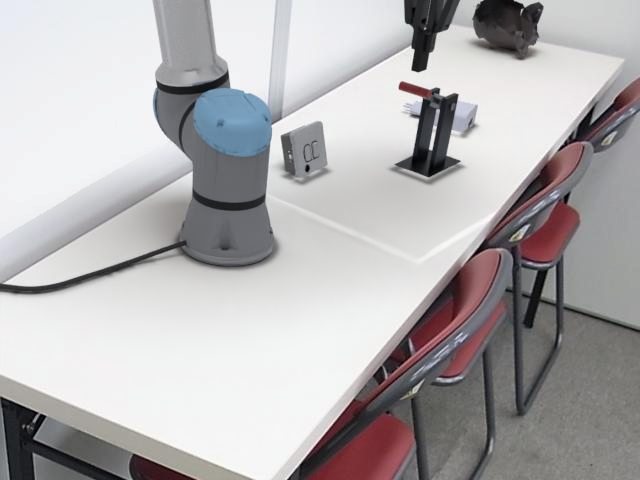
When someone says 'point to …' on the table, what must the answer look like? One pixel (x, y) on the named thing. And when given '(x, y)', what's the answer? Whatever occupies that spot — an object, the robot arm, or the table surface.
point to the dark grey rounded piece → (507, 23)
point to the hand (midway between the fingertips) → (418, 69)
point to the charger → (461, 119)
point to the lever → (422, 94)
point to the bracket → (436, 158)
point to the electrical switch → (304, 149)
